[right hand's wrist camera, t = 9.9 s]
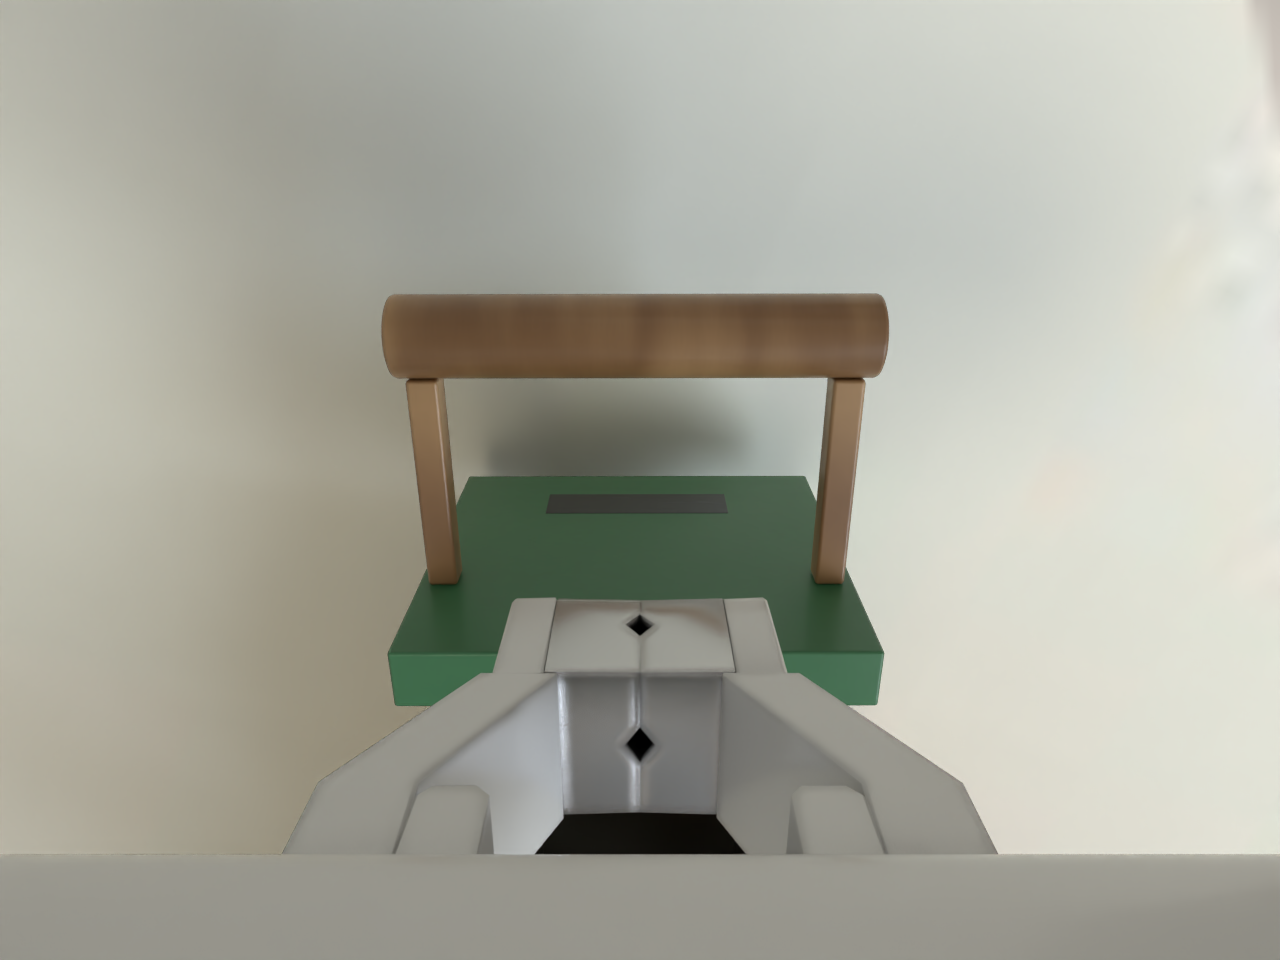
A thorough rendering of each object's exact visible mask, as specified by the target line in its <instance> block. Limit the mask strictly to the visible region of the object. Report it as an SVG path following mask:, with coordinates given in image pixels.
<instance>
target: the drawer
mask: <svg viewBox="0 0 1280 960" xmlns="http://www.w3.org/2000/svg"><path fill="white" fill-rule="evenodd" d="M381 332H382V346H383V353H384V357H385V361H386V364H387V367H388V370H389V372H390V373H391V375H392V376H394V377H396V378H399V379H408V380H407V382H406V391H407V400H408V408H409V417H410V425H411V434H412V443H413V451H414V460H415V468H416V477H417V485H418V494H419V502H420V511H421V519H422V528H423V536H424V545H425V553H426V562H427V570H426V572H425V574H424V576H423V578H422V580H421V583H420V585H419V587H418V589H417V591H416V593H415V596H414V598H413V600H412V602H411V604H410V606H409V608H408V611H407V613H406V615H405V617H404V619H403V621H402V624H401V626H400V628H399V630H398V632H397V634H396V637H395V639H394V641H393V643H392V645H391V647H390V649H389V652H388V660H389V667H390V674H391V681H392V688H393V695H394V702H395V705H396V706H432V705H434V704H435V703H437V702H438V701H440V700H441V699H443V698H444V697H446V696H447V695H449V694H450V693H452V692H453V691H455V690H456V689H458V688H459V687H461V686H462V685H464V684H465V683H467V682H468V681H470V680H471V679H473V678H474V677H476V676H477V675H479V674H480V673H493V669H494V666H495V662H496V659H497V655H498V651H499V648H500V644H501V641H502V637H503V633H504V630H505V626H506V623H507V619H508V616H509V612H510V608H511V605H512V602H513V601H514V600H515V599H517V598H556V599H557V600H558V599H559V598H566V599H619V600H678V599H719V598H722V599H735V598H758V597H763V598H764V599H766V600H767V602H768V606H769V609H770V613H771V616H772V620H773V624H774V627H775V631H776V634H777V638H778V641H779V645H780V648H781V652H782V655H783V659H784V662H785V666H786V669H787V673H800V674H802V675H803V676H804V677H806V678H807V679H809V680H810V681H812V682H813V683H815V684H816V685H818V686H819V687H821V688H822V689H824V690H825V691H827V692H828V693H830V694H831V695H833V696H834V697H836V698H837V699H839V700H840V701H842V702H843V703H845V704H846V705H877V702H878V695H879V688H880V681H881V673H882V666H883V659H884V651H883V649H882V647H881V645H880V642H879V640H878V638H877V636H876V634H875V631H874V629H873V627H872V625H871V622H870V620H869V618H868V616H867V613H866V611H865V609H864V607H863V605H862V602H861V600H860V598H859V596H858V593H857V591H856V589H855V587H854V584H853V582H852V580H851V578H850V576H849V573H848V571H847V569H846V558H847V549H848V539H849V530H850V521H851V512H852V503H853V494H854V484H855V475H856V466H857V457H858V448H859V439H860V429H861V420H862V411H863V402H864V393H865V384H866V383H865V381H864V379H863V378H874V377H876V376H878V375H879V374H880V372H881V371H882V368H883V366H884V363H885V359H886V355H887V350H888V341H889V319H888V311H887V307H886V303H885V300H884V298H883V297H882V296H881V295H879V294H394V295H392V296H389V297H388V299H387V300H386V303H385V306H384V310H383V315H382V329H381ZM443 378H828V383H827V394H826V405H825V416H824V427H823V438H822V449H821V461H820V472H819V483H818V494H817V502H816V500H815V498H814V495H813V493H812V491H811V489H810V486H809V484H808V482H807V480H806V477H805V476H524V477H469V479H468V481H467V483H466V485H465V488H464V490H463V492H462V494H461V496H460V498H459V501H458V503H457V505H456V501H455V491H454V481H453V471H452V461H451V450H450V440H449V430H448V420H447V410H446V400H445V389H444V379H443ZM535 854H746V853H745V852H744V851H743V850H742V849H741V847H740V846H739V845H738V844H737V842H736V841H735V840H734V839H733V837H732V836H731V835H730V834H729V832H728V831H727V830H726V829H725V828H724V826H723V825H722V824H721V823H720V821H719V820H718V819H717V814H684V813H647V812H630V813H595V814H563V820H562V821H561V822H560V823H559V825H558V826H557V827H556V828H555V830H554V831H553V832H552V833H551V834H550V836H549V837H548V838H547V839H546V841H545V842H544V843H543V844H542V845H541V847H540V848H539V849H538V850H537V852H536V853H535Z"/></svg>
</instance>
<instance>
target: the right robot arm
mask: <svg viewBox="0 0 1280 960" xmlns="http://www.w3.org/2000/svg"><path fill="white" fill-rule="evenodd" d="M630 812H647V813H684V814H717V819H718V820H719V821H720V823H721V824H722V825H723V826H724V828H725V829H726V830H727V831H728V832H729V834H730V835H731V836H732V837H733V839H734V840H735V841H736V842H737V844H738V845H739V846H740V847H741V849H742V850H743V851H744V852H745V853H746V854H535V853H536V852H537V850H538V849H539V848H540V847H541V845H542V844H543V843H544V842H545V841H546V839H547V838H548V837H549V836H550V834H551V833H552V832H553V831H554V830H555V828H556V827H557V826H558V825H559V823H560V822H561V821H562V820H563V814H595V813H630ZM0 960H1280V854H998V853H997V851H996V849H995V847H994V845H993V843H992V841H991V839H990V837H989V835H988V833H987V831H986V829H985V827H984V825H983V823H982V821H981V819H980V817H979V815H978V813H977V811H976V809H975V807H974V805H973V803H972V801H971V799H970V797H969V795H968V793H967V791H966V789H965V787H964V785H963V783H962V782H960V781H959V780H957V779H956V778H954V777H953V776H951V775H950V774H948V773H947V772H945V771H944V770H942V769H941V768H939V767H938V766H936V765H935V764H933V763H932V762H930V761H929V760H928V759H926V758H925V757H923V756H922V755H920V754H919V753H917V752H916V751H914V750H913V749H911V748H910V747H908V746H907V745H905V744H904V743H902V742H901V741H899V740H898V739H896V738H895V737H893V736H892V735H890V734H889V733H888V732H886V731H885V730H883V729H882V728H880V727H879V726H877V725H876V724H874V723H873V722H871V721H870V720H868V719H867V718H865V717H864V716H862V715H861V714H859V713H858V712H856V711H855V710H853V709H852V708H850V707H849V706H847V705H846V704H845V703H843V702H842V701H840V700H839V699H837V698H836V697H834V696H833V695H831V694H830V693H828V692H827V691H825V690H824V689H822V688H821V687H819V686H818V685H816V684H815V683H813V682H812V681H810V680H809V679H807V678H806V677H804V676H803V675H802V674H800V673H787V669H786V666H785V662H784V659H783V655H782V652H781V648H780V645H779V641H778V638H777V634H776V631H775V627H774V624H773V620H772V616H771V613H770V609H769V606H768V602H767V600H766V599H764V598H763V597H758V598H735V599H722V598H719V599H678V600H619V599H566V598H559V599H558V600H557V599H556V598H517V599H515V600H514V601H513V602H512V605H511V608H510V612H509V616H508V619H507V623H506V626H505V630H504V633H503V637H502V641H501V644H500V648H499V651H498V655H497V659H496V662H495V666H494V669H493V673H480V674H479V675H477V676H476V677H474V678H473V679H471V680H470V681H468V682H467V683H465V684H464V685H462V686H461V687H459V688H458V689H456V690H455V691H453V692H452V693H450V694H449V695H447V696H446V697H444V698H443V699H441V700H440V701H438V702H437V703H435V704H434V705H432V706H431V707H429V708H428V709H426V710H425V711H423V712H422V713H420V714H419V715H417V716H416V717H414V718H413V719H411V720H410V721H409V722H407V723H406V724H404V725H403V726H401V727H400V728H398V729H397V730H395V731H394V732H392V733H391V734H389V735H388V736H386V737H385V738H383V739H382V740H380V741H379V742H377V743H376V744H374V745H373V746H371V747H370V748H368V749H367V750H365V751H364V752H362V753H361V754H359V755H358V756H356V757H355V758H353V759H352V760H350V761H349V762H347V763H346V764H344V765H343V766H341V767H340V768H338V769H337V770H336V771H334V772H333V773H331V774H330V775H328V776H327V777H325V778H324V779H322V780H321V781H319V782H318V784H317V786H316V788H315V790H314V791H313V793H312V795H311V797H310V799H309V801H308V803H307V805H306V807H305V809H304V811H303V813H302V815H301V817H300V819H299V821H298V823H297V825H296V827H295V829H294V831H293V833H292V835H291V837H290V839H289V841H288V843H287V845H286V847H285V849H284V851H283V853H282V854H0Z"/></svg>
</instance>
